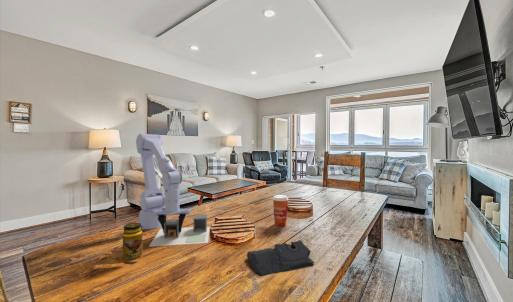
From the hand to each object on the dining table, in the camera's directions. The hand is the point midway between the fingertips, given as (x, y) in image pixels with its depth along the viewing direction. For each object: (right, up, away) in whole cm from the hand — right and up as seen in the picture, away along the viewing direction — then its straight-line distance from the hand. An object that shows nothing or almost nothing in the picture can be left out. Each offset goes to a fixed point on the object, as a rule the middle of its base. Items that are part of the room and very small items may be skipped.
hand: (172, 232), depth 98 cm
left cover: (0, -1, 0) cm, 1 cm away
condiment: (-8, -4, -16) cm, 19 cm away
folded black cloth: (+43, -4, -17) cm, 47 cm away
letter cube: (0, -2, 0) cm, 2 cm away
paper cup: (+47, -2, +17) cm, 50 cm away
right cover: (+10, -1, +7) cm, 12 cm away
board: (+4, -3, +1) cm, 5 cm away
